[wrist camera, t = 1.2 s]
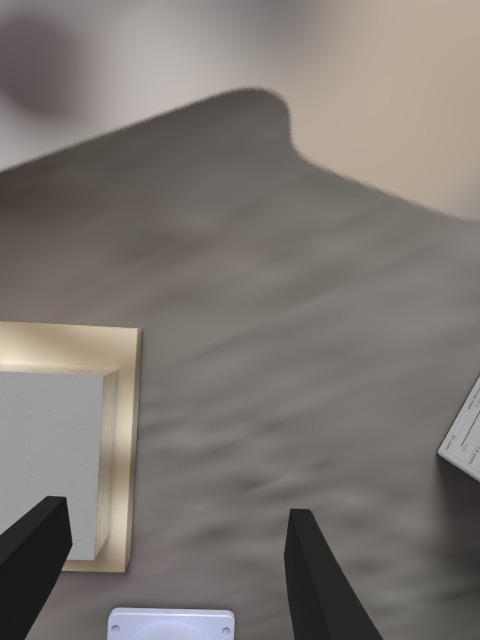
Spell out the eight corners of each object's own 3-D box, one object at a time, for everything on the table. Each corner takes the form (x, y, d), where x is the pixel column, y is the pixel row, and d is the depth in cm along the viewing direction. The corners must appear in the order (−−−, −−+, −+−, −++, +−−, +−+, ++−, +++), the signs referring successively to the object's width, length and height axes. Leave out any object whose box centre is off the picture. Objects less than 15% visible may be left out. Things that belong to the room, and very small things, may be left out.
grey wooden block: (110, 531, 17) (93, 560, 15) (-7, 527, 17) (-40, 556, 15) (118, 369, 17) (103, 376, 15) (1, 363, 17) (-31, 369, 15)
